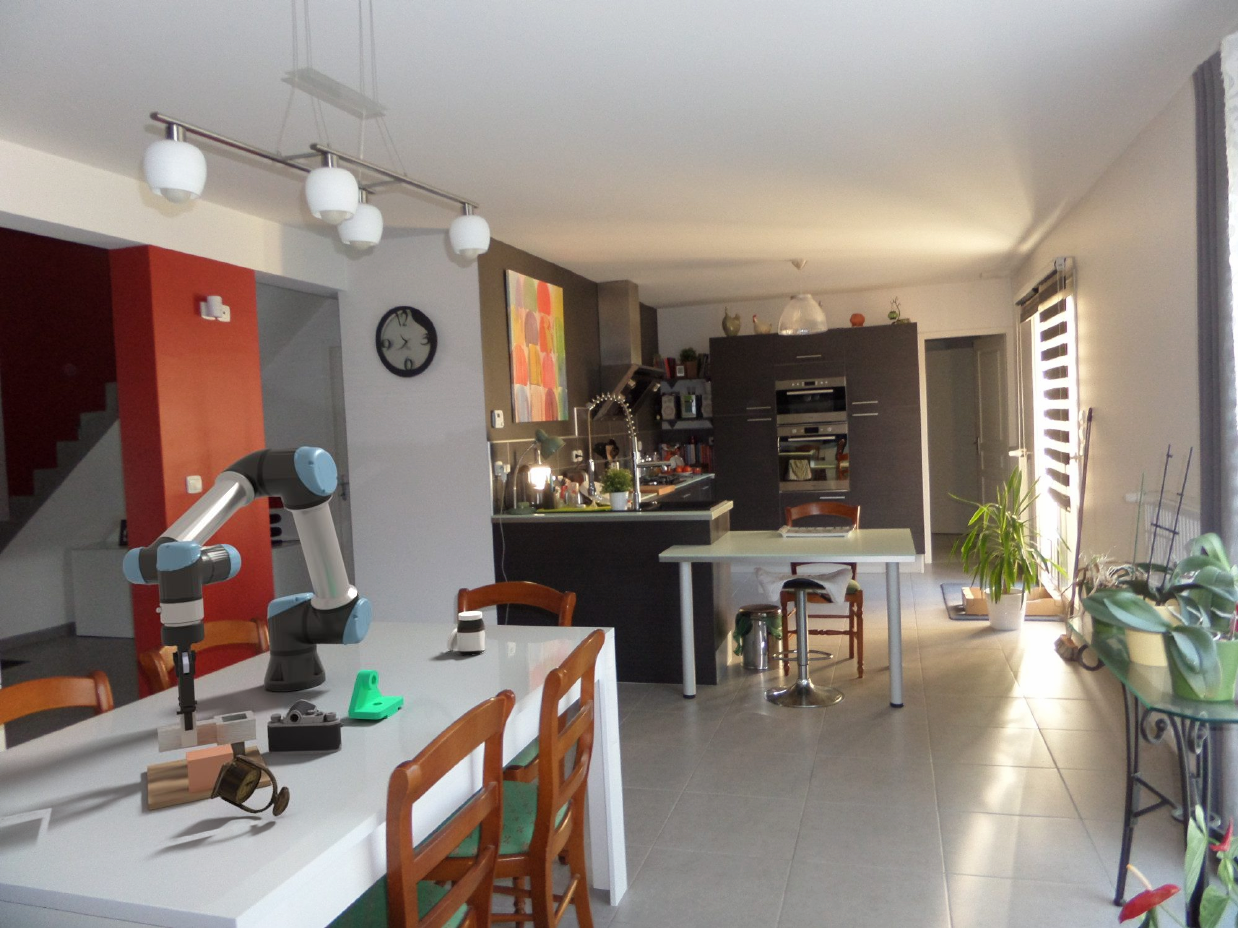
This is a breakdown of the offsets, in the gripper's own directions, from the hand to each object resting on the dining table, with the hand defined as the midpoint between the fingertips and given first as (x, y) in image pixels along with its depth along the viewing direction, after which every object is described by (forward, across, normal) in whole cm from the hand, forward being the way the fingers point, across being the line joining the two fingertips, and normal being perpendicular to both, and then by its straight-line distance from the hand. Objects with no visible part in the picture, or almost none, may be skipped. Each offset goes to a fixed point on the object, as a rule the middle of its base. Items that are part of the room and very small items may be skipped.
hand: (189, 742), depth 176 cm
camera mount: (+6, -15, +40) cm, 43 cm away
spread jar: (+5, -60, +76) cm, 96 cm away
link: (0, 0, -5) cm, 5 cm away
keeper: (+6, +12, +3) cm, 13 cm away
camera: (+6, -1, +22) cm, 23 cm away
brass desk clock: (+6, +29, +9) cm, 31 cm away
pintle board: (+6, +6, +3) cm, 9 cm away
